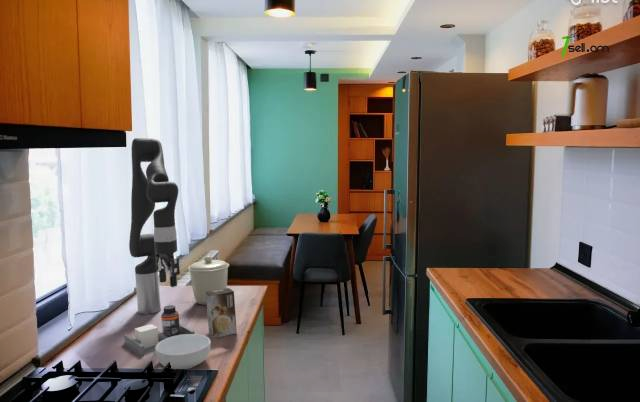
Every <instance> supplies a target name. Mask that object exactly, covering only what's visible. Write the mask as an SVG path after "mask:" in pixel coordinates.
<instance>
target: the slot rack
mask: <svg viewBox="0 0 640 402" xmlns="http://www.w3.org/2000/svg"><path fill="white" fill-rule="evenodd" d="M179 326H180V335H183V334H195V330H193V329H191V328H189V327H188V326H187V325H186V326H185V325H184V324H182V323H180V322H179ZM166 338H169V337H167V336H166V335H164V334H163V332H162V331H161V332H160V331H159V330H158V340H159V342H160V341H162V340H164V339H166ZM123 340H124V343H123V345H124V346H125V347H127V348H129V349H130V350H132V352H134V353H135V354H137V355H138V356H139V357H142V356H146V355H149V354H152V353H154V352H155V347H156V345H155V346H152V347H148V348H145V349H144V345H142V344H141V343H139V342H138V341H136V340H135V338H133V337H132V336H130V335H129V334H128V333H126V334H124V335H123Z"/></svg>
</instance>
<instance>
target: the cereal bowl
mask: <svg viewBox="0 0 640 402" xmlns="http://www.w3.org/2000/svg"><path fill="white" fill-rule="evenodd" d="M211 344H212V343H211V339H210V338H209V337H208V336H205V335H203V334H197V333H196V334H195V333H194V334H183V335H177V336H172V337H169V338H166V339H164V340H162V341H160V342H159V343H158V344H157V345H156V347H155V357H156V360H157V362H158V363H159V364H161V366H164V367H166V364H167V363H168V362H170V365H171V368H170V369H173V370H176V369H185V370H189V369H192V368H194V367H195V366H198V365H199V364H201V363H202V362H204V361H205V360H206V359H207V358H208V356H209V354H210V352H211V347H212V346H211Z"/></svg>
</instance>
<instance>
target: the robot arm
mask: <svg viewBox="0 0 640 402" xmlns="http://www.w3.org/2000/svg"><path fill="white" fill-rule="evenodd" d="M163 150H164V149H163V146H162V143H161V141H160V140H159V139H158V138H149V137H148V138H146V137H144V138H143V137H141V138H140V137H135V138H134V139H132V142H131V170H132V171H131V173H132V175H131V176H132V177H131V180H132V182H131V195H130V196H131V199H130V201H131V205H130V207H131V210H130V211H131V212H130V213H131V215H130V216H131V217H130V218H131V219H130V220H131V223H130V232H129V242H128V243H129V244H128V247H129V253H130V256H131V257H132V258H143V257H146V259H145V260H143V261H142V262H141V263H139V264H136V266H135V267H134V274H135V288H136V290H135V291H136V303H137V313H138V314H140V315H151V314H156V313H158V312H161V292H160V283H161V284H162V283H166V282H167V272H168V275H169V286H170V287H171V288H175V287H177V286H178V280H177V279H178V277H177V276H179V275H180V274H181V272H180V261H179V257H177V256H176V257H175V256H174V254H175V253H176V252H177V251H178V238H177V229H176V222H175V221H176V220H175V215H176V214H175V211H176V204H177V201H178V196H179V187H178V184H177V183H176V182H174V181H170V179H169V176H168V173H167V171H166V168H165V157H164V152H163ZM141 163H149V164H148V165H147V167H146V169H145V172H144V171H143V168H142V164H141ZM157 203H166V205H165V206H164V207H161V208H158V209H156V210H155V208H156V204H157ZM152 214H153V215H152ZM151 215H152V216H153V233H146V234H145V233H144V234H141V233H142V229H143V227H144V225H145V224H146V222H147V221H148V220H149V218H151ZM166 271H167V272H166Z"/></svg>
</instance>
